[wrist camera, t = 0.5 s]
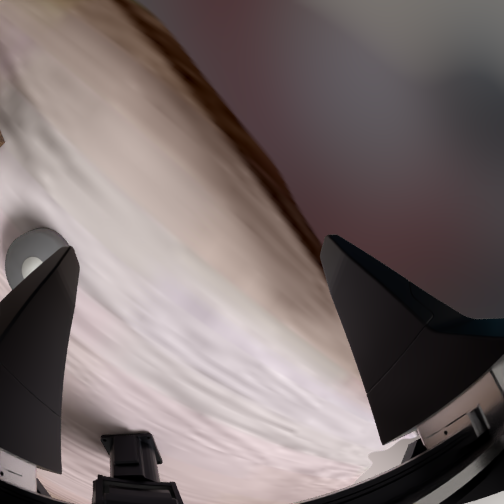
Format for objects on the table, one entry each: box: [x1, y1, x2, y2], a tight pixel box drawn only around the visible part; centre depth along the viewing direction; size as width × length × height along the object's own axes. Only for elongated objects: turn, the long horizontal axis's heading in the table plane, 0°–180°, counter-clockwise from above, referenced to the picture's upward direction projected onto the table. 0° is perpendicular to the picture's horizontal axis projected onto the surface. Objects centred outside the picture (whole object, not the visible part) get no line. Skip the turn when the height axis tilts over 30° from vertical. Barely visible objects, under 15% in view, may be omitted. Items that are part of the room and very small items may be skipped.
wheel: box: [5, 228, 69, 290], centre depth 18 cm, size 6×6×3 cm
